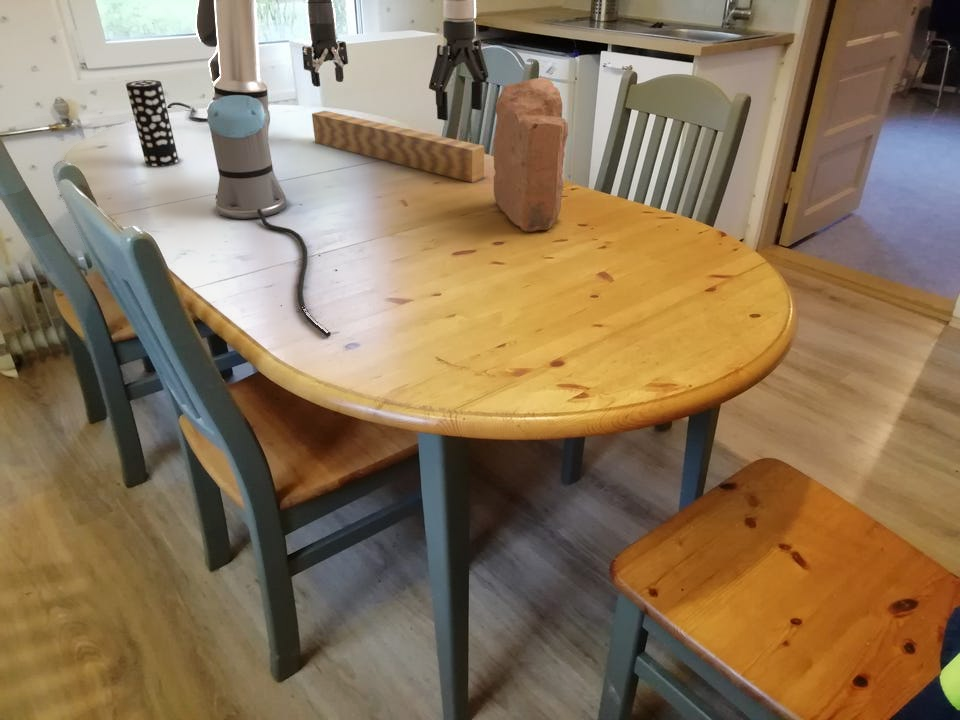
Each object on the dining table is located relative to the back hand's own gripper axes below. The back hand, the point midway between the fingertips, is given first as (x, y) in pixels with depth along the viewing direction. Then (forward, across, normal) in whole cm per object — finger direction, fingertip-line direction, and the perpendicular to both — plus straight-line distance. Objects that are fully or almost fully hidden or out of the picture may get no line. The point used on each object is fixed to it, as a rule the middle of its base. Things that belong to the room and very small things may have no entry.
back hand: (328, 83), depth 195 cm
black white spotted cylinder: (+6, +42, -22) cm, 48 cm away
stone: (+17, +13, +77) cm, 80 cm away
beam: (+17, 0, +24) cm, 29 cm away
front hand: (+1, 0, +48) cm, 48 cm away
